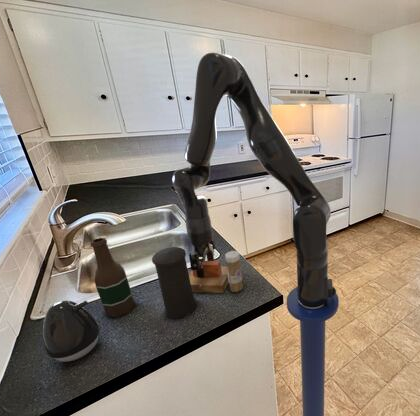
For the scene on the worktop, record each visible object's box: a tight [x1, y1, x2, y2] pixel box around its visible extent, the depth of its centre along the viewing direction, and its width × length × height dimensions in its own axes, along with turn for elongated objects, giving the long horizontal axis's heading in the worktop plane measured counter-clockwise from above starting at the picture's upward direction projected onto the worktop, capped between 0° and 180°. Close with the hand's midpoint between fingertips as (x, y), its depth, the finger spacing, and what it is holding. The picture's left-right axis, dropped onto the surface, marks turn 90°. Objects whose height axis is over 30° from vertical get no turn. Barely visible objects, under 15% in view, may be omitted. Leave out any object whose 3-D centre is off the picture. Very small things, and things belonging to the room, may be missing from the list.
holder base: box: [188, 265, 229, 294], centre depth 94 cm, size 14×13×3 cm
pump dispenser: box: [42, 299, 101, 363], centre depth 66 cm, size 10×10×15 cm
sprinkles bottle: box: [224, 250, 244, 293], centre depth 89 cm, size 5×5×14 cm
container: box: [151, 246, 196, 319], centre depth 79 cm, size 9×9×20 cm
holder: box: [191, 260, 222, 277], centre depth 92 cm, size 9×3×5 cm, turn 87°
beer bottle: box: [90, 237, 135, 318], centre depth 78 cm, size 8×8×24 cm
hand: (206, 269), depth 92 cm, fingers open, 8 cm apart
